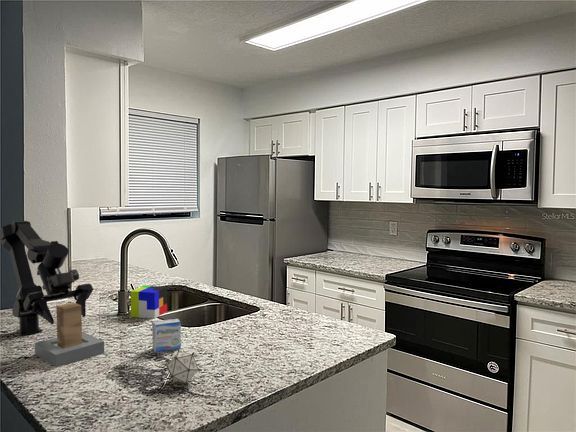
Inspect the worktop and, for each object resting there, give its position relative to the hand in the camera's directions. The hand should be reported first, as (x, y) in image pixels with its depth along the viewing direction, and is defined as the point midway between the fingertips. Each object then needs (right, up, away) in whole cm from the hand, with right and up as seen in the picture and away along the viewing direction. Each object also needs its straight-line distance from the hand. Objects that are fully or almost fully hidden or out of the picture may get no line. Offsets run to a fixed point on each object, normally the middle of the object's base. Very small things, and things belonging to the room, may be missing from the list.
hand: (69, 319), depth 131 cm
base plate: (0, -10, +1) cm, 10 cm away
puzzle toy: (+11, -8, +42) cm, 44 cm away
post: (0, -8, +1) cm, 8 cm away
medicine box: (+27, -11, +6) cm, 30 cm away
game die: (+38, -12, -18) cm, 44 cm away
